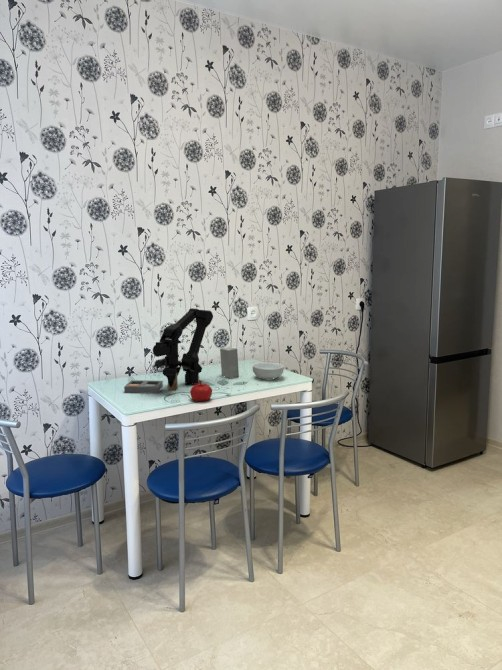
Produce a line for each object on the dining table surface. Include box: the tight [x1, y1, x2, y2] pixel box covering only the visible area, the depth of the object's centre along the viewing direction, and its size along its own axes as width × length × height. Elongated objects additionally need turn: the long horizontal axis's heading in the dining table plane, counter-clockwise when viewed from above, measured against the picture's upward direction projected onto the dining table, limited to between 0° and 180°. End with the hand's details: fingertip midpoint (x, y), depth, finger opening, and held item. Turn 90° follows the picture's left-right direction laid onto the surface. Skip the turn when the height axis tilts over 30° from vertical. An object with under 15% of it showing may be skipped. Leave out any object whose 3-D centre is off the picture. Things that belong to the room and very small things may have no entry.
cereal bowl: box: [252, 361, 285, 380], centre depth 271 cm, size 17×17×7 cm
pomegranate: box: [189, 379, 213, 402], centre depth 231 cm, size 10×10×9 cm
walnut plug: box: [167, 375, 179, 392], centre depth 247 cm, size 4×4×9 cm
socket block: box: [123, 379, 164, 394], centre depth 247 cm, size 16×12×3 cm
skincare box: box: [219, 346, 240, 379], centre depth 273 cm, size 8×7×16 cm
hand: (172, 384), depth 248 cm, fingers open, 9 cm apart
